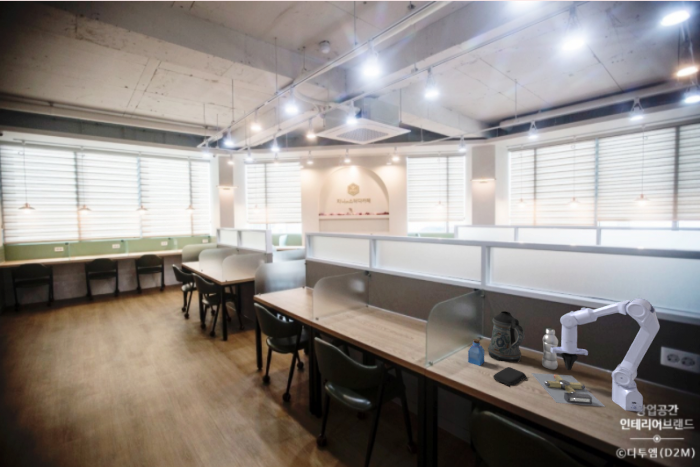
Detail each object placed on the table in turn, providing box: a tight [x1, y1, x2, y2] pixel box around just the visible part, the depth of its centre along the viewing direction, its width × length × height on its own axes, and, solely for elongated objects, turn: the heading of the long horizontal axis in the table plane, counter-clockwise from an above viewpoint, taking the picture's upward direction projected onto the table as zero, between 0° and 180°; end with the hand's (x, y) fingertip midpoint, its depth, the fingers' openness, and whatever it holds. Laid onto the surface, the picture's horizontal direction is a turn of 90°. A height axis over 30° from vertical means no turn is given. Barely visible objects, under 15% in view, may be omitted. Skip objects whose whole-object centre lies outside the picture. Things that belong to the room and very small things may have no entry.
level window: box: [564, 392, 592, 404], centre depth 123 cm, size 3×9×3 cm, turn 81°
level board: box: [531, 372, 606, 408], centre depth 134 cm, size 24×18×1 cm
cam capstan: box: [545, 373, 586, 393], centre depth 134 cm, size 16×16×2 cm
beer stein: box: [487, 310, 526, 363], centre depth 165 cm, size 16×19×25 cm
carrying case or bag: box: [492, 366, 527, 387], centre depth 143 cm, size 11×3×15 cm
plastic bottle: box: [541, 328, 559, 370], centre depth 152 cm, size 6×7×20 cm
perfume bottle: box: [467, 338, 485, 367], centre depth 160 cm, size 6×6×12 cm
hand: (568, 368), depth 138 cm, fingers closed
